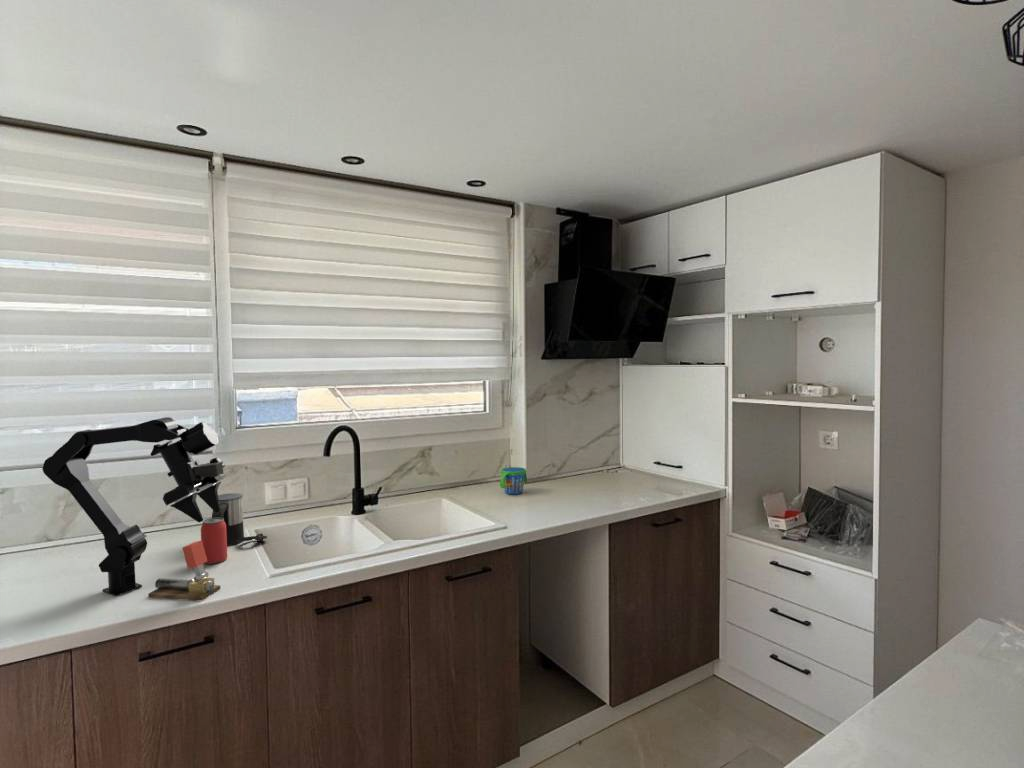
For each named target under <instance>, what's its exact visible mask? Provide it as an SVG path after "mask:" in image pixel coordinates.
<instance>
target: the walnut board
mask: <svg viewBox="0 0 1024 768" xmlns="http://www.w3.org/2000/svg"><path fill="white" fill-rule="evenodd" d="M214 587H215V588H213V589H212V591H208V592H206V593H205V594H193V593H189V591H188V590H179V589H161V588H156V589H155V590H153V591H151V592H148V593H147V595H148V596H147V597H148V599H163V598H165V600H179V599H188V600H187V601H196V600H202V601H204V600H205V599H207V598H208V596H209V595H210V596H211V594H212V595H214V592H215V593H216V592H218V591H220V590H221V584H220V585H219V584H214ZM219 589H220V590H219ZM217 590H218V591H217ZM210 596H209V597H210ZM206 597H207V598H206ZM203 599H204V600H203Z"/></svg>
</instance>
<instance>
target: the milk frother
mask: <svg viewBox="0 0 1024 768" xmlns="http://www.w3.org/2000/svg"><path fill="white" fill-rule="evenodd" d="M243 497H244V494H243V493H240V492H239V493H237V492H236V493H234V492H233V493H232V492H231V493H221V494H218V499H219V505H220V511H219V512H217V513H216V512H215V511H214V510H213V509H212V512H211V518H217V517H220V518H223V519H224V522H225V524H226V534H227V546H231V545H237V544H239V543H242V542H247V541H248V542H249V541H253V540H252V539H255V540H254V541H256V542H257V541H259V542H258V543H263V541H264V539H265V540H266V539H267V538H268V536H267V535H264V534H263V533H257V534H256V535H253V536H245V531H244V530H245V529H244V508H243V507H244V506H243V505H244V504H243V500H244V499H243Z"/></svg>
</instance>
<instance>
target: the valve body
mask: <svg viewBox="0 0 1024 768" xmlns="http://www.w3.org/2000/svg"><path fill="white" fill-rule="evenodd" d="M214 585H215V578H214V577H206V578H205V579H203V580H201V581H199V582H195V581H194V578H191V579H179V578H164V577H163V578H162V577H160V578H158V579H156V581H155V583H154V586H155V588H156V589H158V588H161V589H179V590H188V591H189V593H193V594H205V593H206V592H208V591H212V589H213V588H215V587H214Z"/></svg>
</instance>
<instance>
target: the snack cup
mask: <svg viewBox="0 0 1024 768" xmlns="http://www.w3.org/2000/svg"><path fill="white" fill-rule="evenodd" d="M500 473H501V475H500V480H499V487H500V488H501V489H504V492H505V494H507V495H513V496H514V495H520V494H522V493H523V492H524V487H525V483H527V482H528V476H527V469H526V468H524V467H518V466H517V467H516V466H515V467H514V466H513V467H512V466H511V467H504V468H502V469H501V470H500Z"/></svg>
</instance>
